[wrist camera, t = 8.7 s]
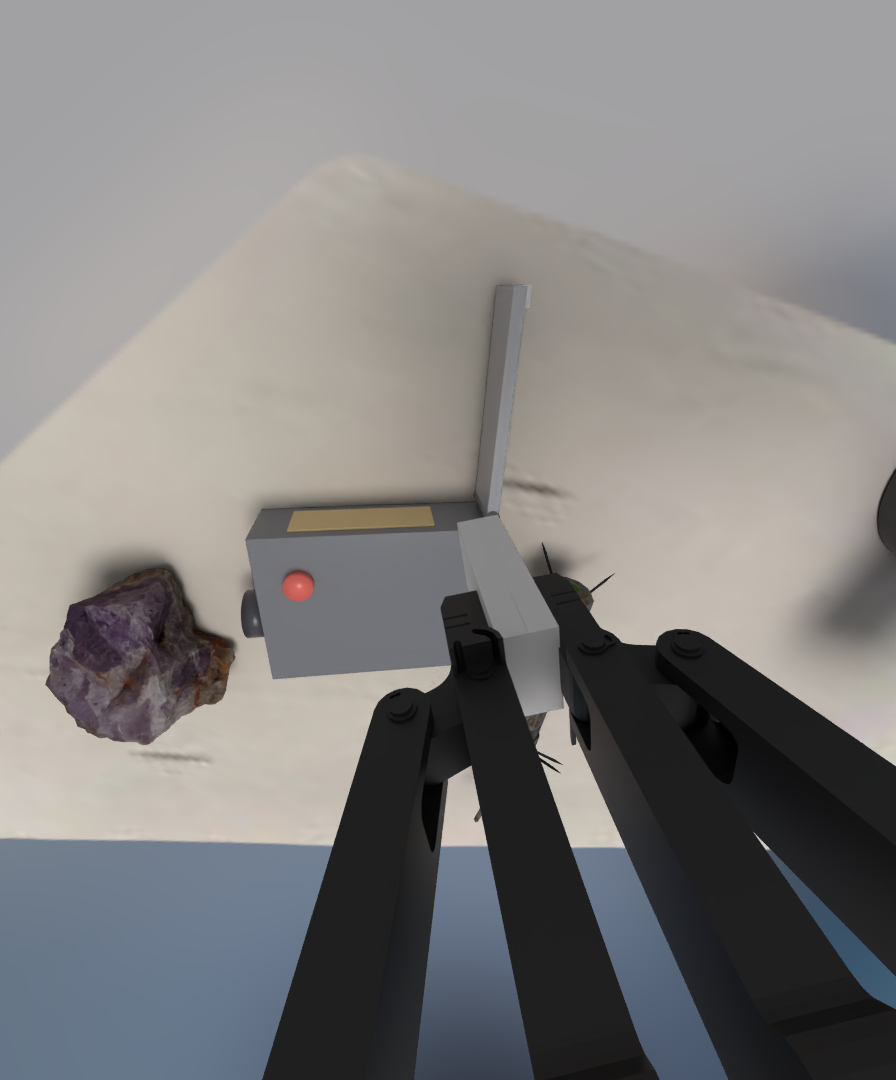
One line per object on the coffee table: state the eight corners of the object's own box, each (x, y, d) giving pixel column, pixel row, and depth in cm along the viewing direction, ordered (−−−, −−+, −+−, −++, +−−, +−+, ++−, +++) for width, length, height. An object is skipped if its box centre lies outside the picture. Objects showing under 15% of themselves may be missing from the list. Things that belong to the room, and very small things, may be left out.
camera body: (485, 499, 38) (502, 532, 33) (478, 624, 43) (492, 669, 38) (238, 508, 35) (215, 544, 30) (264, 639, 41) (248, 688, 36)
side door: (492, 500, 38) (506, 525, 33) (473, 500, 37) (485, 525, 33) (517, 286, 31) (539, 285, 27) (495, 284, 31) (513, 282, 27)
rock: (199, 551, 38) (70, 582, 37) (149, 596, 30) (-17, 636, 29) (249, 674, 42) (133, 703, 41) (217, 743, 34) (72, 781, 33)
